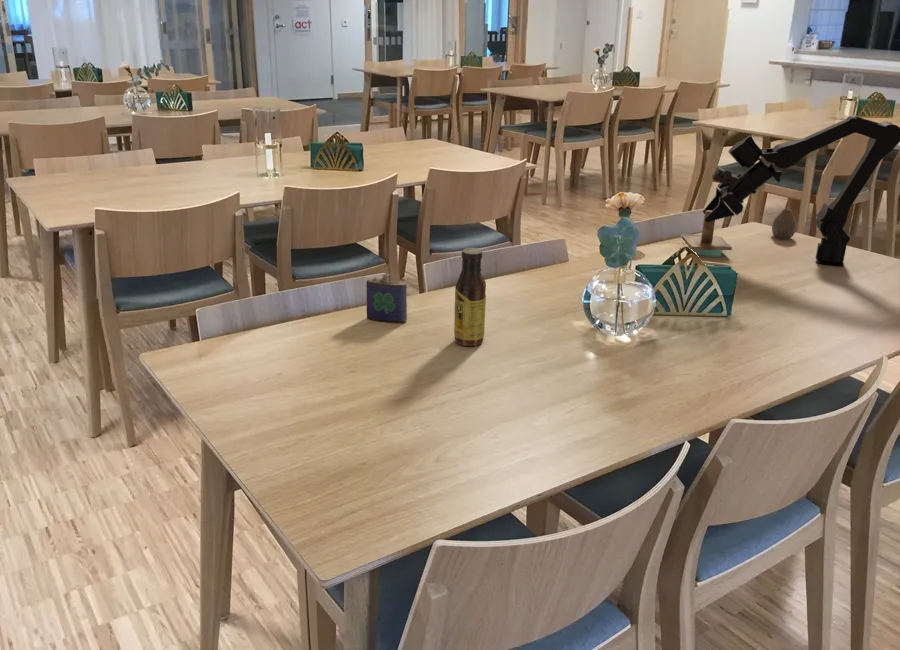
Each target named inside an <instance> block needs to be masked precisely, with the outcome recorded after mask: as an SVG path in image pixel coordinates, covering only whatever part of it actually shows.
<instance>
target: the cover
mask: <svg viewBox="0 0 900 650" xmlns="http://www.w3.org/2000/svg"><path fill="white" fill-rule="evenodd" d="M712 211H713V210H706V211H705V214H704V218H703V223H702V225H703V226H702V233H701V235H702V236H682V239H683V240H684V241H685V243H686V244H687V247H688V246H689V247H690V248H691V249H694V250H722V251H732V249H733V247H732V246H731V244H729V243H728V242H727V241H726V240H725V239H724V238H723V237H721V236H714V233H715V232H714V231H715V225H716V224H715V223H716V220H714V221H710V222H706V221H705V218H706V217H707V216H708V215H709V214H710V213H711V212H712ZM722 238H723V239H722ZM686 244H685V245H686Z"/></svg>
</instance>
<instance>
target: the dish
mask: <svg viewBox="0 0 900 650" xmlns="http://www.w3.org/2000/svg"><path fill="white" fill-rule="evenodd" d="M688 247H689V246H688V245H687V248H688ZM689 248H690V247H689ZM690 249H691V248H690ZM692 250H693V251H694V252H696V253H697V254H698V255H697V256H700V257H701V256H702V257H709V258H710V257H711V258H718V259H719V258H722V251H723V250H694V249H692Z"/></svg>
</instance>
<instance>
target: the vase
mask: <svg viewBox="0 0 900 650" xmlns="http://www.w3.org/2000/svg"><path fill="white" fill-rule="evenodd" d="M797 225H798V223H797V219H796V217H795V216H794V214H793V211H792V209H790V208H783V209H782V210H781V212H779V213H778V214H777V216H776V217H774V219H773V222H772V224H771V231H772V235H773V237H774V238H775V239H778V240H783V241H786V240H790V239H791V238H792V237H794V235H795V234H796V231H797Z"/></svg>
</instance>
